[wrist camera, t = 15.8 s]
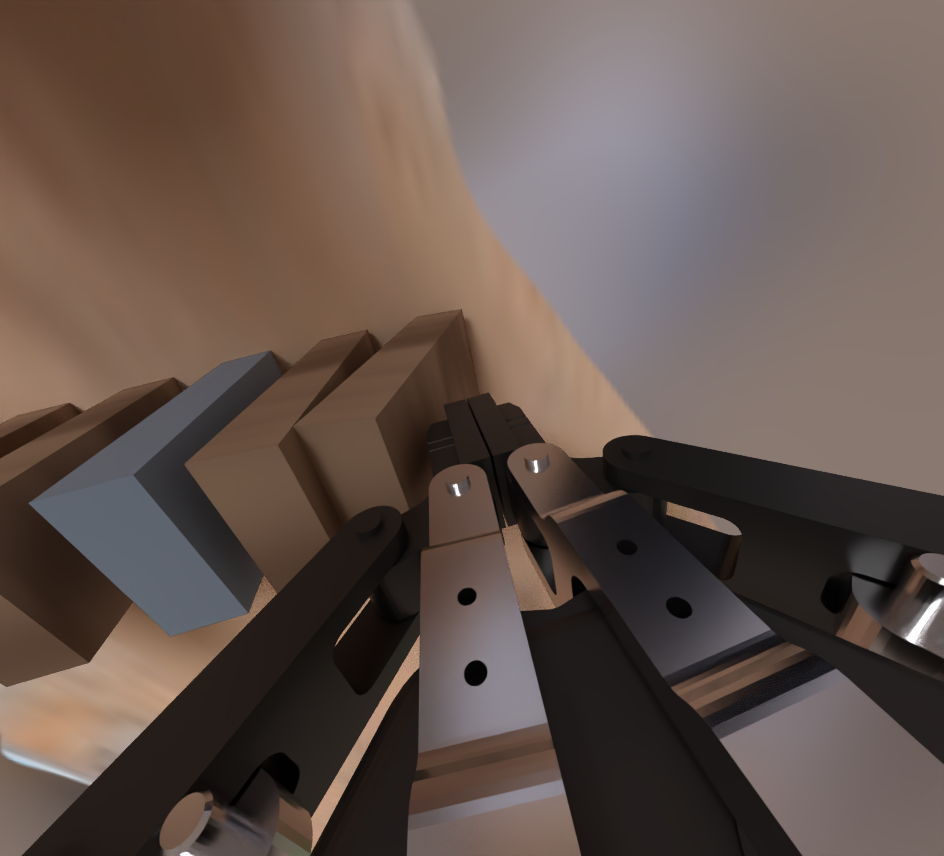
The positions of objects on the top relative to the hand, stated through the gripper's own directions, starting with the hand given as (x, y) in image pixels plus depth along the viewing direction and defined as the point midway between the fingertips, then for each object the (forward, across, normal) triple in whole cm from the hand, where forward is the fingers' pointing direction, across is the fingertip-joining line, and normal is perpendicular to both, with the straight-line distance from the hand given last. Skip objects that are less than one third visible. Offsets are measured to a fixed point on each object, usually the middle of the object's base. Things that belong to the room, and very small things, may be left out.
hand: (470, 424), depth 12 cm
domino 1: (+7, +13, 0) cm, 15 cm away
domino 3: (+7, +4, 0) cm, 8 cm away
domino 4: (+7, 0, 0) cm, 7 cm away
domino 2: (+7, +9, 0) cm, 11 cm away
